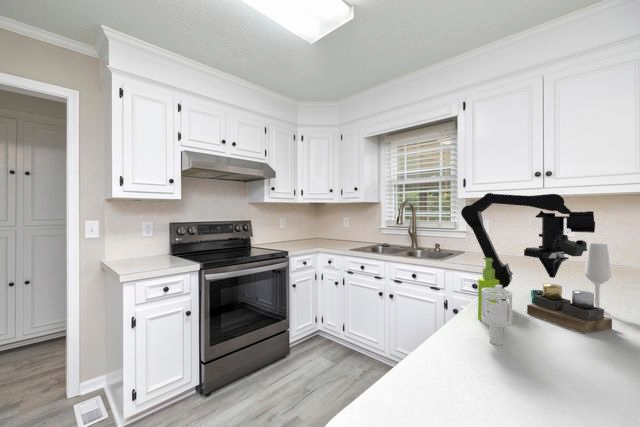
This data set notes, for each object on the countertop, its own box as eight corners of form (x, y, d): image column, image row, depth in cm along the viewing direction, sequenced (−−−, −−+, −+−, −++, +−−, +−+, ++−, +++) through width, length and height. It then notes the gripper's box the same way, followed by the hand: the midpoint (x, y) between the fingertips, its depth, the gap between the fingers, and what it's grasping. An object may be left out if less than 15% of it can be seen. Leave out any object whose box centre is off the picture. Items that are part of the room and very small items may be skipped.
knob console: (583, 333, 84) (584, 312, 84) (527, 313, 100) (527, 296, 100) (611, 328, 87) (612, 308, 87) (552, 310, 104) (552, 293, 104)
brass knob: (554, 300, 95) (554, 287, 95) (539, 295, 100) (539, 284, 100) (565, 298, 96) (565, 286, 96) (549, 294, 101) (550, 283, 101)
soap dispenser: (495, 316, 97) (496, 257, 97) (501, 324, 91) (501, 260, 90) (476, 314, 99) (476, 256, 99) (480, 321, 93) (480, 259, 92)
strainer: (514, 342, 78) (514, 286, 78) (508, 351, 73) (508, 291, 73) (485, 334, 83) (485, 282, 83) (477, 342, 78) (478, 286, 78)
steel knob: (586, 308, 86) (586, 295, 86) (568, 303, 91) (568, 291, 91) (598, 307, 88) (598, 294, 88) (579, 302, 93) (579, 289, 93)
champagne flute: (589, 307, 107) (590, 242, 106) (614, 313, 101) (615, 244, 100) (580, 310, 104) (581, 243, 104) (605, 316, 98) (605, 245, 98)
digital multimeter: (552, 298, 119) (552, 291, 119) (556, 308, 107) (556, 300, 107) (530, 295, 124) (530, 288, 124) (531, 304, 111) (531, 297, 111)
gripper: (558, 233, 88) (557, 285, 88) (600, 232, 93) (600, 281, 93) (522, 231, 98) (522, 277, 98) (562, 230, 103) (562, 274, 104)
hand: (552, 277), depth 98 cm, fingers closed
